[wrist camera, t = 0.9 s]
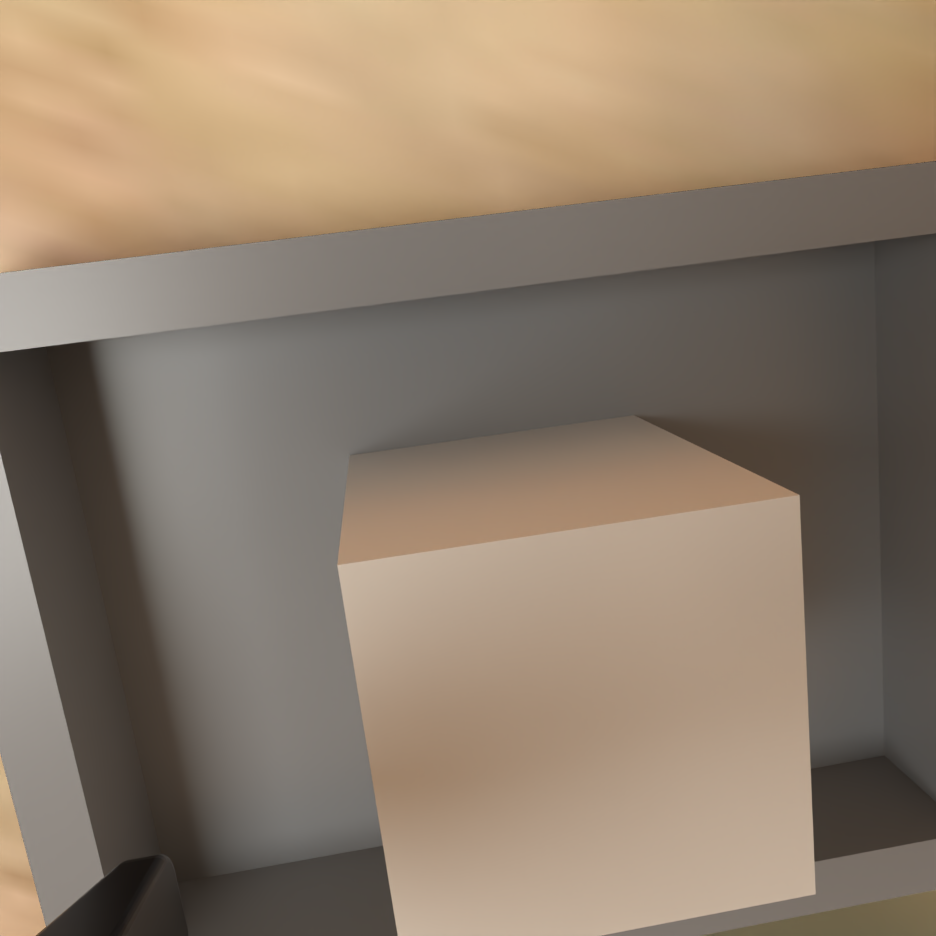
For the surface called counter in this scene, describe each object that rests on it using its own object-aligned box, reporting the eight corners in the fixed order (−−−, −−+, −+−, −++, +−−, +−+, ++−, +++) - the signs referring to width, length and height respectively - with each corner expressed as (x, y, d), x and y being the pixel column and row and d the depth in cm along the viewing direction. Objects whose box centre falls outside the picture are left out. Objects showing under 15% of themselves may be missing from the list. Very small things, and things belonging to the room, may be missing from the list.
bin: (910, 174, 15) (1037, 148, 12) (916, 777, 18) (1023, 873, 15) (-21, 287, 14) (-123, 288, 11) (130, 921, 17) (80, 1056, 14)
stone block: (633, 414, 15) (799, 494, 9) (655, 676, 16) (815, 894, 10) (349, 455, 15) (337, 564, 9) (390, 721, 16) (404, 973, 10)
